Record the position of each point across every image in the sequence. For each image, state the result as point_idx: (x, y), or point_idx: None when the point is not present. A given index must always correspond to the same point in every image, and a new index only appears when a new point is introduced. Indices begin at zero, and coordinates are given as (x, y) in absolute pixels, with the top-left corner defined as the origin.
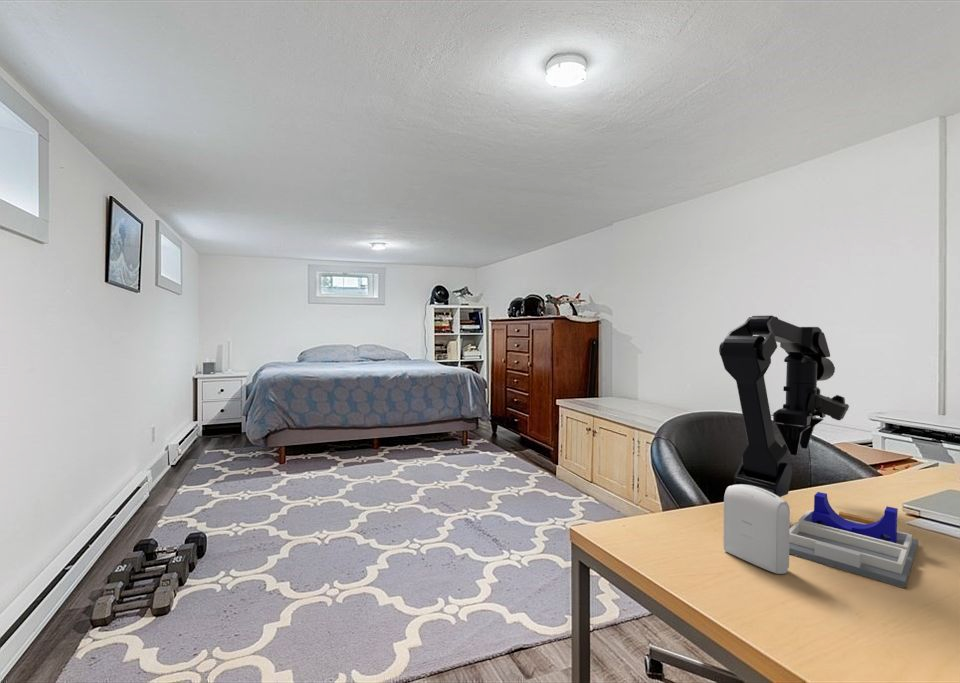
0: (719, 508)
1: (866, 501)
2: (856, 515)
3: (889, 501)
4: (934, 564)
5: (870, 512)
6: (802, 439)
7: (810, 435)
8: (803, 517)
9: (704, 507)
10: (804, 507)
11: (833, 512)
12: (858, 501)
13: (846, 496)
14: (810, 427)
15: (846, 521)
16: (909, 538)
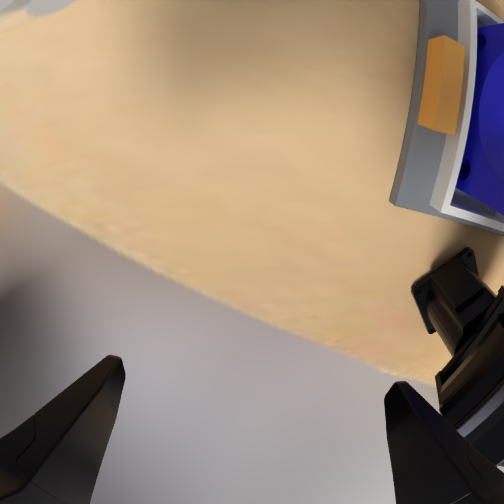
0: (405, 358)
1: (63, 70)
2: (442, 85)
3: (31, 35)
4: (495, 6)
5: (178, 34)
6: (103, 422)
7: (69, 428)
8: (492, 223)
9: (408, 373)
10: (279, 211)
11: (493, 159)
12: (77, 84)
13: (52, 122)
14: (39, 485)
15: (485, 125)
16: (495, 16)
